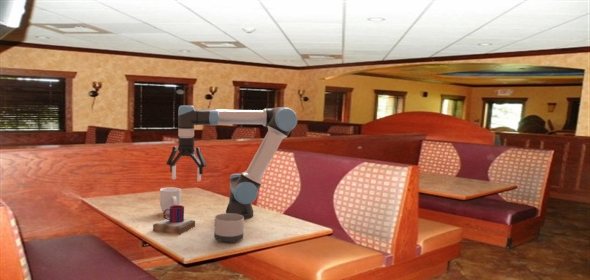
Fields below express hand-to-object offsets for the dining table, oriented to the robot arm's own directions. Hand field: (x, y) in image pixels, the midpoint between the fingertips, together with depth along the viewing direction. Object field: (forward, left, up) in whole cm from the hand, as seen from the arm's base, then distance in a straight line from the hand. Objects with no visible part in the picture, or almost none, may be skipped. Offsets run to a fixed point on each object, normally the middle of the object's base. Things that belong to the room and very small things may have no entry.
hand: (186, 180), depth 210 cm
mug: (+17, -13, -22) cm, 31 cm away
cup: (+1, +9, -19) cm, 21 cm away
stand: (0, +9, -22) cm, 24 cm away
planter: (-30, +13, -22) cm, 40 cm away
